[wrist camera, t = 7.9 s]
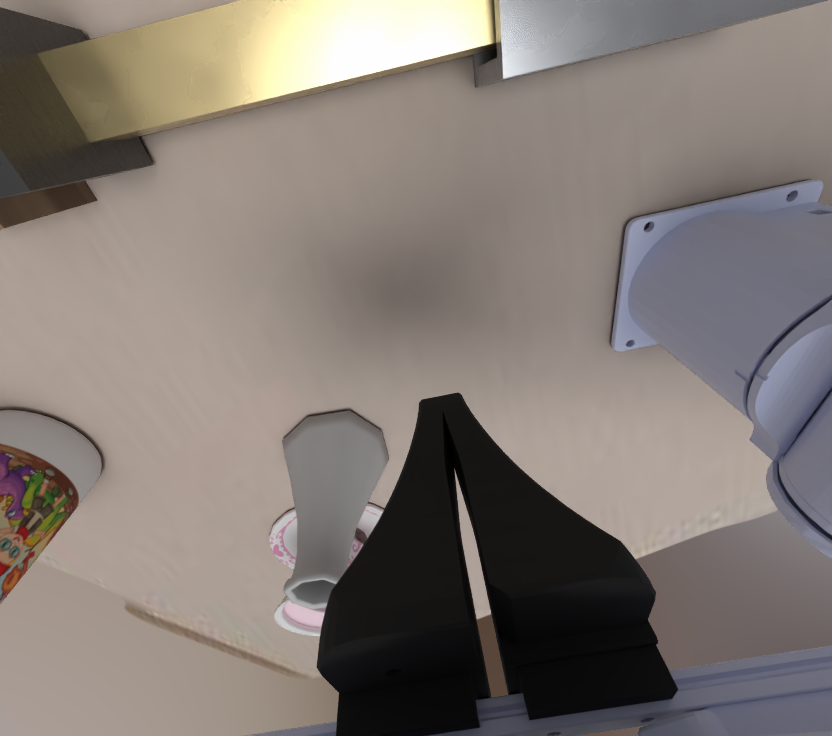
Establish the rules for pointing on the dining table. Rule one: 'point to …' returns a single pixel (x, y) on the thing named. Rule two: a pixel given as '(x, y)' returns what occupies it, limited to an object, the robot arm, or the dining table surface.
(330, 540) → the flask
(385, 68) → the grey-banded wooden bar
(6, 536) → the milk bottle
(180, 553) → the dining table surface
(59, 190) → the socket
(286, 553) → the teacup
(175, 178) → the dining table surface
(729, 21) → the sleeve
